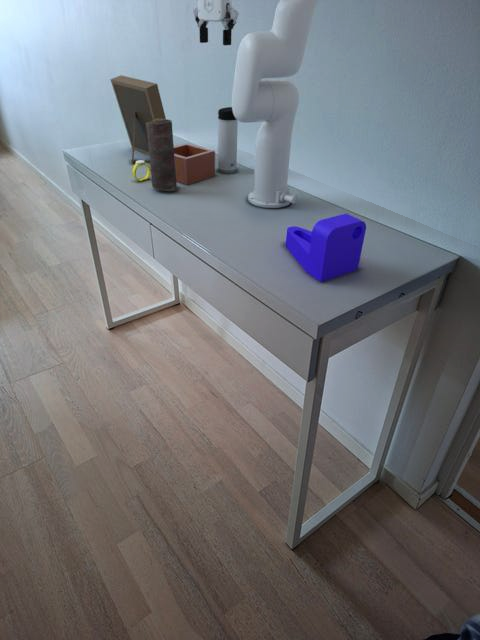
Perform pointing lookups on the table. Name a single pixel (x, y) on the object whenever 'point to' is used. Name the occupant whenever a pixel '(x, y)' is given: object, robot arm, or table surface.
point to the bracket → (328, 246)
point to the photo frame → (138, 108)
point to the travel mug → (227, 141)
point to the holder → (193, 163)
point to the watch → (139, 162)
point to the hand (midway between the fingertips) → (215, 43)
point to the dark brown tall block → (161, 154)
